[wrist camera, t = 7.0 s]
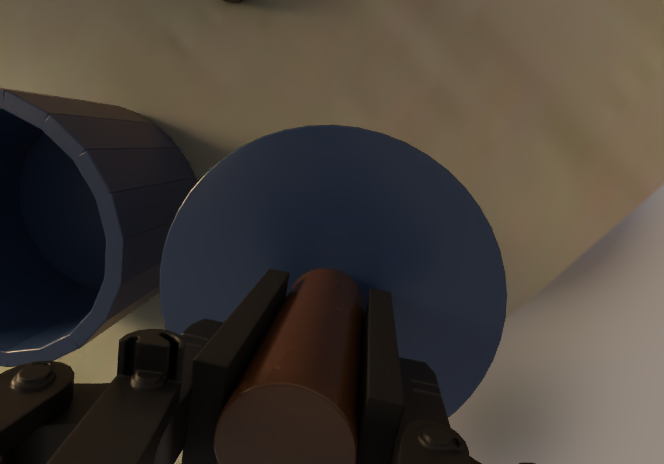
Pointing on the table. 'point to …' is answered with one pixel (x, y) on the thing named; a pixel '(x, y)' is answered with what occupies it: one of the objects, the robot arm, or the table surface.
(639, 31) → the table surface
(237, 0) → the phone case
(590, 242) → the table surface
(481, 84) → the table surface
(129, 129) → the tin
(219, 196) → the lid
